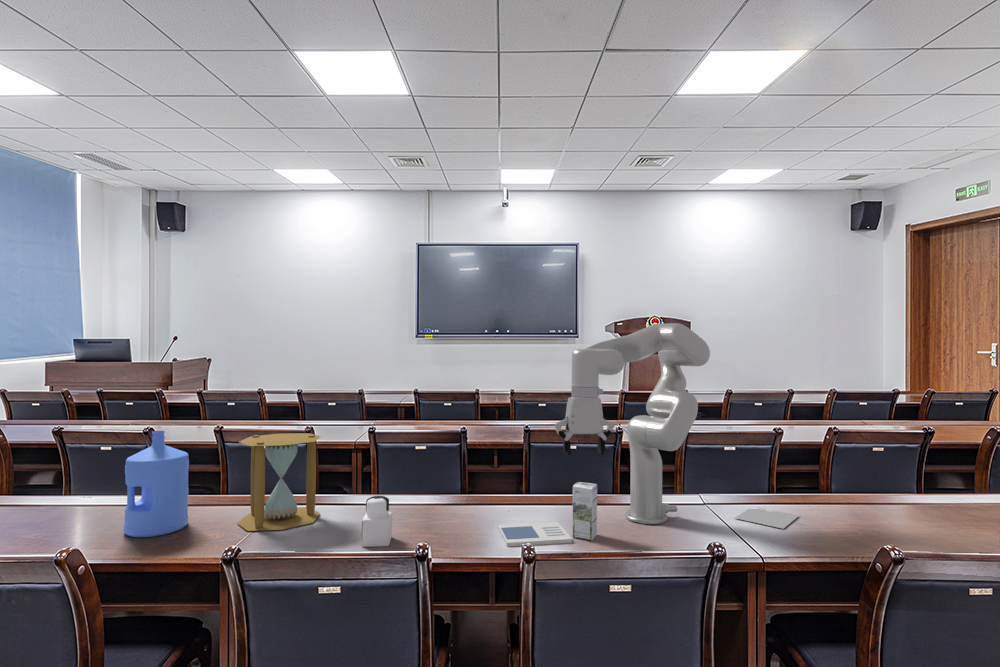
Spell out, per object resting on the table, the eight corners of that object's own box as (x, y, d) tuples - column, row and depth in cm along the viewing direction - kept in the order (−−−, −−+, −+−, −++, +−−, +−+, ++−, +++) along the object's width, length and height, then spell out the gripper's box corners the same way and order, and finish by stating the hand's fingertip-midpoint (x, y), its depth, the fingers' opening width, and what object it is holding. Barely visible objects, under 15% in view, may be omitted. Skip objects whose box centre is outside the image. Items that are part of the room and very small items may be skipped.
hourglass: (235, 537, 149) (236, 446, 150) (238, 513, 170) (239, 434, 170) (324, 525, 159) (325, 440, 160) (317, 505, 179) (317, 429, 180)
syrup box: (597, 534, 153) (597, 483, 153) (592, 541, 147) (592, 488, 148) (578, 531, 155) (578, 480, 155) (571, 538, 150) (572, 485, 150)
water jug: (179, 516, 167) (181, 425, 167) (194, 529, 156) (196, 431, 156) (118, 528, 156) (120, 431, 156) (130, 542, 145) (132, 438, 145)
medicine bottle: (365, 537, 149) (366, 494, 150) (392, 537, 150) (392, 493, 150) (361, 547, 142) (361, 501, 143) (388, 546, 143) (389, 501, 143)
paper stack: (833, 524, 163) (833, 522, 163) (812, 547, 145) (812, 544, 145) (752, 508, 179) (752, 506, 179) (724, 526, 161) (724, 524, 161)
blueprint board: (557, 525, 160) (557, 521, 160) (572, 542, 146) (572, 538, 146) (497, 528, 157) (497, 525, 157) (506, 546, 143) (506, 542, 143)
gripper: (609, 392, 157) (608, 451, 157) (551, 391, 154) (550, 452, 154) (619, 394, 150) (618, 456, 149) (558, 394, 147) (558, 457, 146)
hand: (584, 454), depth 151 cm, fingers open, 9 cm apart
